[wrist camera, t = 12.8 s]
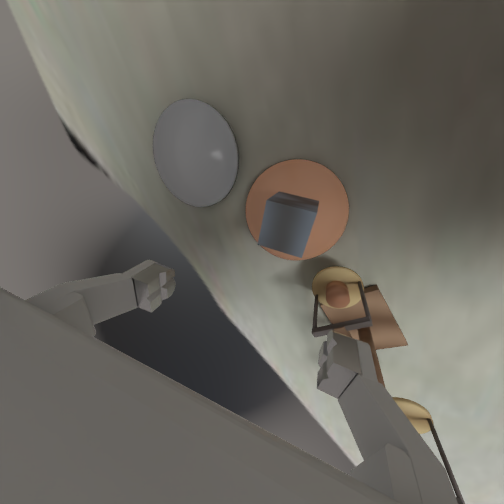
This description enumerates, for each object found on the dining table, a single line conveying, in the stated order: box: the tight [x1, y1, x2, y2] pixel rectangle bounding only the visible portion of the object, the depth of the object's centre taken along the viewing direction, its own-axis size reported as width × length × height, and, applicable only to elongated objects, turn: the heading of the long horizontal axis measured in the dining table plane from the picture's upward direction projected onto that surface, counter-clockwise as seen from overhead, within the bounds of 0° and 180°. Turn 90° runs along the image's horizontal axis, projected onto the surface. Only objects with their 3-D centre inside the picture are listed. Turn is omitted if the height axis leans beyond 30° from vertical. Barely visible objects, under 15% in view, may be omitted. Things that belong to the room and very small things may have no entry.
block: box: [258, 191, 319, 258], centre depth 22 cm, size 5×5×6 cm
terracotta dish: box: [246, 159, 349, 260], centre depth 25 cm, size 13×13×1 cm
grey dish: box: [153, 99, 239, 207], centre depth 27 cm, size 13×13×1 cm
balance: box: [312, 266, 465, 504], centre depth 23 cm, size 23×8×15 cm, turn 35°
